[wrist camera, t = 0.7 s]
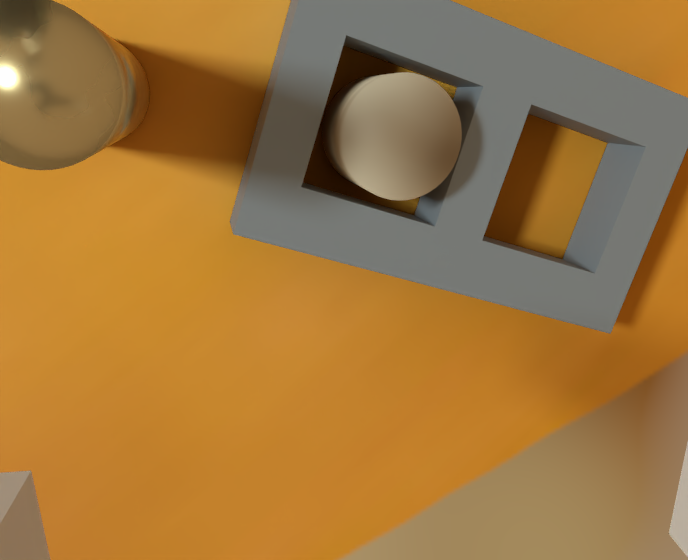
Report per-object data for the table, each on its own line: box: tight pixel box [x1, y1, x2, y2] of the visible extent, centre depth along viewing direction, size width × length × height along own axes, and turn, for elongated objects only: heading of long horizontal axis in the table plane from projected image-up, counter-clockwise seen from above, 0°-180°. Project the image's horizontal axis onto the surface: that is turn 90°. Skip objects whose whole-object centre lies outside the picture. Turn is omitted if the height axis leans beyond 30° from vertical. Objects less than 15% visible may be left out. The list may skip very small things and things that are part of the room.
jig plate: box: [230, 0, 688, 333], centre depth 30 cm, size 12×20×3 cm, turn 72°
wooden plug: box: [322, 72, 462, 201], centre depth 29 cm, size 5×5×4 cm
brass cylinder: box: [0, 0, 150, 170], centre depth 22 cm, size 4×4×11 cm
